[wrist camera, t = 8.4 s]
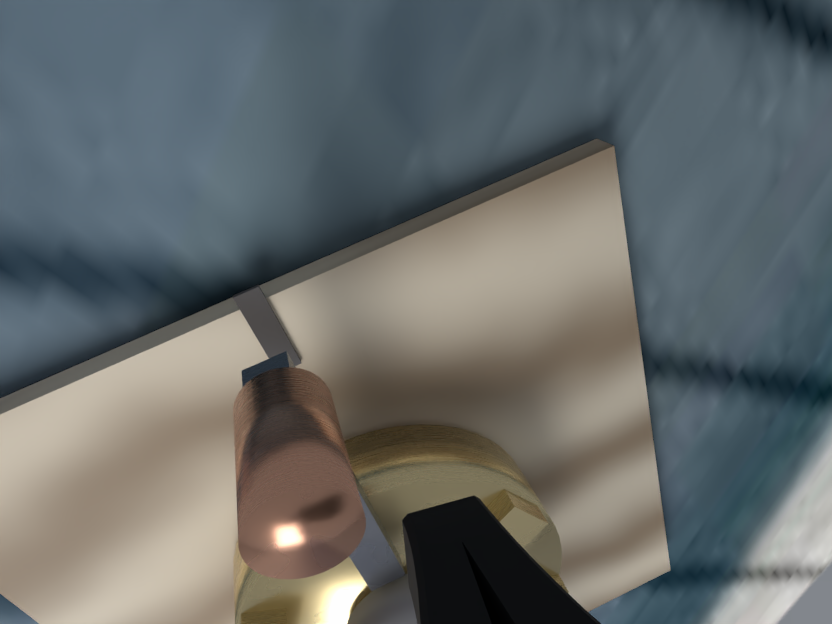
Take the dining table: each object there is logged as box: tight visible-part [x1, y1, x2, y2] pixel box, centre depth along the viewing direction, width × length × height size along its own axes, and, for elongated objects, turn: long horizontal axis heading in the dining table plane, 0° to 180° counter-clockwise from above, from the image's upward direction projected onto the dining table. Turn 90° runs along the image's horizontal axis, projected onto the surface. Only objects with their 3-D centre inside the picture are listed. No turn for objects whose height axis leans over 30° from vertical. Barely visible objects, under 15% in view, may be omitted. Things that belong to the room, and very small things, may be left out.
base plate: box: [0, 139, 670, 624], centre depth 22 cm, size 24×24×6 cm
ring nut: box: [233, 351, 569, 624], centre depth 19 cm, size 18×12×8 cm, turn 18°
